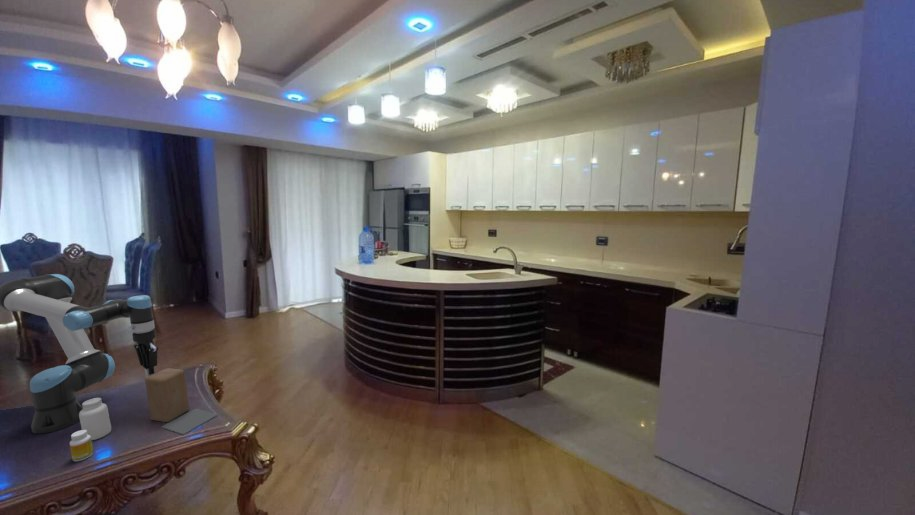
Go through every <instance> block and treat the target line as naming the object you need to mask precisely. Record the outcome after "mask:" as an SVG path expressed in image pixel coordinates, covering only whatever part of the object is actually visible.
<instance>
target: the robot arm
mask: <svg viewBox="0 0 915 515" xmlns="http://www.w3.org/2000/svg"><path fill="white" fill-rule="evenodd" d="M75 292H76V291H75V285H74V283H73V281H72V280H71V279H70V278H69V277H67V276H66V275H63V274H60V273H53V274H44V275H43V274H42V275H38V276H31V277H25V278H19V279H18V278H17V279H12V280H9V281H6V282H4V283H2V284H1V285H0V308H2V309H5V310H7V311H10V312H26V313H30V314H33V315H35V316H40V317H43V318H45V319H46V321H47V323H48V324H49V327H50V328H51V330H52V332H53V333H54V336H55V337H56V339H57V341H58V343H59V344H60V346H61V348H62V350H63V352H64V354H65V355H66V357H67V359H66V362H65V364H64V365H63V364H62V365H58V366H54V367H51V368H47V369H44V370H42V371H40V372H38V373H36V374H35V375H34V376H33V377H31V379H30V381H29V392H31V396H32V397H31V398H32V401H33V402H32V403H33V408H34V415H33V419H32V422H31V432H32V433H33V434H37V435H38V434H47V433H52V432H56V431H60V430H63V429H65V428H67V427H71V426H72V425H74V424H77V423H79V422H80V418H79V413H80V411H81V410H82V409H83V406H82V404H81V403H80V402H79V401H78V400H77V396H76V394H77V392H79V391H81V390H84V389H86V388H88V387H91V386H93V385H95V384H97V383H101V382H102V381H104V380H106V379H108V378H111V377H112V375H113V374H114V371H115V369H116V364H115V361H114V358H113V357H112V355H109V354H108V353H102V351H101V350H100V349H95V348H94V346H93V344H92V343H91V341H90V338H89V337H88V334H87V332H86V330H85V329H89V328H91V327H94V326H97V325H100V324H104V323H107V322H111V321H113V320H114V321H115V320H117V319H122V318H123V319H124V318H125V319H129V320H130V329H131V332H132V333H131V334H132V341H133V342H134V343H135V342H136V343H137V344H133V348H134V349H135V351H136V355H137V358H138V362H139V365H140V366H141V367H142V368H144V374H145V378H146V377H148V376H151V375H153V374H155V373H156V372H155V367H156V366H158V350H159V346H155V343H154V339H155V338H157V337H156V336H157V334H156V329H155V328H156V326H155V319H154V312H153V303H152V300H151V297H150V296H149V295H147V294H145V295H144V294H141V295H135V296H130V297H128V298H127V299H111V300H107V301H104V303H103V304H100V305H99V304H98V305H94V306H91V307H86V306H82V305H79V304H75V303H71V301H72V300H73V297H72V296H73V295H74V293H75Z"/></svg>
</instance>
